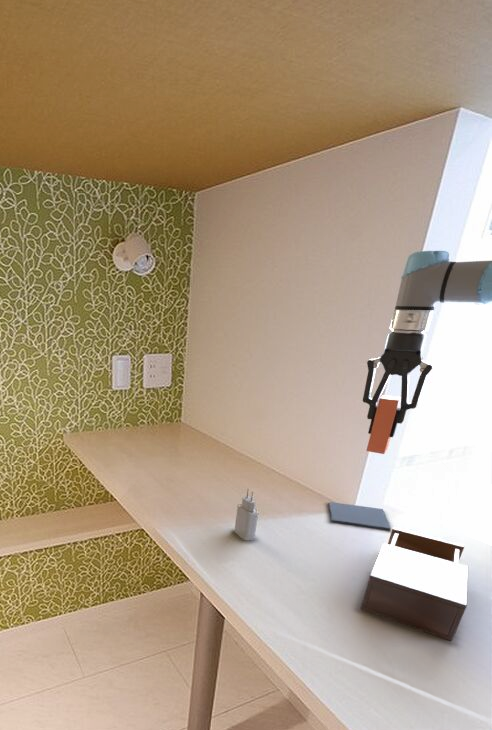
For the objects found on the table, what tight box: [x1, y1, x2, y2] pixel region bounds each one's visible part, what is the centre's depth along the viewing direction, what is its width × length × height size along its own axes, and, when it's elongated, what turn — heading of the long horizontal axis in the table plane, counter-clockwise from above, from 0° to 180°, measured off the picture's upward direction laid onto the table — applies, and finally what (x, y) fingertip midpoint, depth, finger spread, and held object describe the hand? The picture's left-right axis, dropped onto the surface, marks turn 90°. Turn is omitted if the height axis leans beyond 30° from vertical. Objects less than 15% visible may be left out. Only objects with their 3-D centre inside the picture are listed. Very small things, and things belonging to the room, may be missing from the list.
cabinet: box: [360, 542, 469, 642], centre depth 82 cm, size 15×15×8 cm
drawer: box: [387, 526, 465, 564], centre depth 92 cm, size 18×13×6 cm
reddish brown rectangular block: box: [366, 394, 401, 455], centre depth 105 cm, size 5×4×13 cm
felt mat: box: [328, 501, 392, 531], centre depth 117 cm, size 14×12×1 cm
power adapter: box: [234, 488, 259, 541], centre depth 105 cm, size 3×5×12 cm, turn 20°
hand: (381, 433), depth 106 cm, fingers closed on reddish brown rectangular block, 4 cm apart
